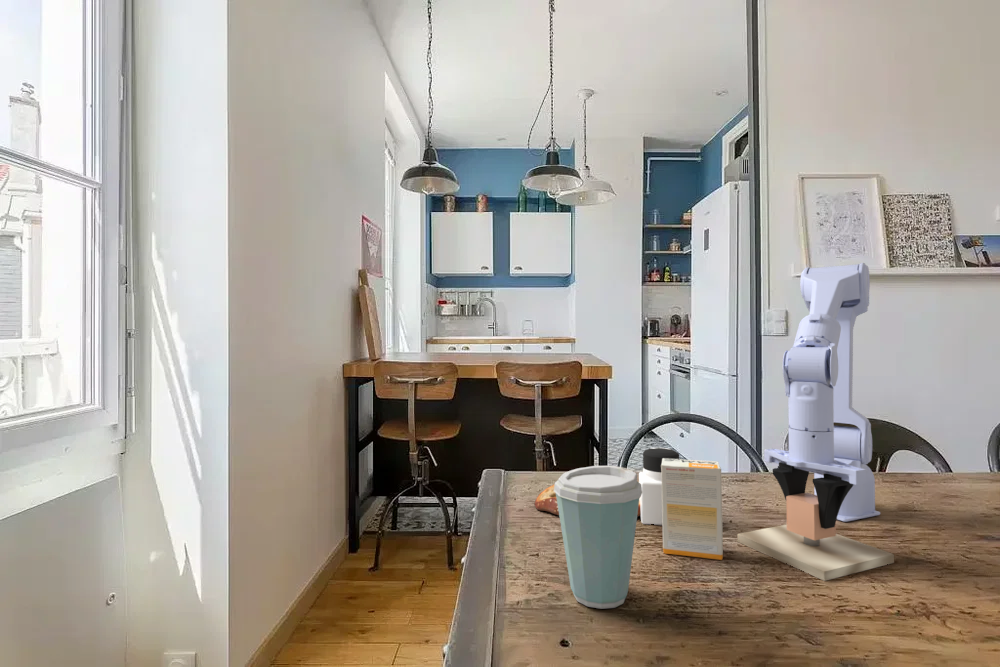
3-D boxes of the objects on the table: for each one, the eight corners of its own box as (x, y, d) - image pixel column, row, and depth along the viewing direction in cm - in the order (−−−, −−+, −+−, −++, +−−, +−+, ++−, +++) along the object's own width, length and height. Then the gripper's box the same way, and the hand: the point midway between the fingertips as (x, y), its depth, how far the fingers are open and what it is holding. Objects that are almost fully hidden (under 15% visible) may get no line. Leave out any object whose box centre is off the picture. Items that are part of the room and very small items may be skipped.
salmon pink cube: (807, 525, 79) (807, 492, 79) (835, 535, 75) (835, 500, 75) (786, 529, 77) (786, 496, 77) (814, 540, 73) (814, 504, 73)
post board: (801, 528, 85) (801, 503, 85) (893, 562, 72) (893, 532, 72) (737, 541, 80) (737, 514, 80) (824, 580, 67) (824, 548, 67)
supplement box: (720, 548, 78) (719, 460, 78) (723, 561, 73) (722, 468, 73) (662, 541, 80) (662, 456, 80) (661, 554, 76) (660, 463, 76)
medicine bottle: (686, 527, 86) (685, 454, 86) (641, 524, 88) (641, 453, 88) (680, 513, 93) (679, 446, 93) (639, 510, 95) (638, 444, 95)
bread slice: (665, 508, 94) (664, 487, 94) (596, 532, 83) (596, 509, 83) (591, 487, 108) (590, 469, 109) (524, 506, 98) (524, 486, 98)
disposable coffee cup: (584, 627, 57) (584, 489, 57) (538, 584, 66) (538, 466, 67) (662, 607, 61) (661, 478, 61) (608, 569, 71) (607, 458, 71)
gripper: (749, 422, 82) (750, 509, 82) (840, 439, 68) (841, 543, 68) (782, 420, 84) (782, 504, 84) (875, 435, 71) (876, 535, 71)
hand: (811, 521), depth 76 cm, fingers closed on salmon pink cube, 4 cm apart
